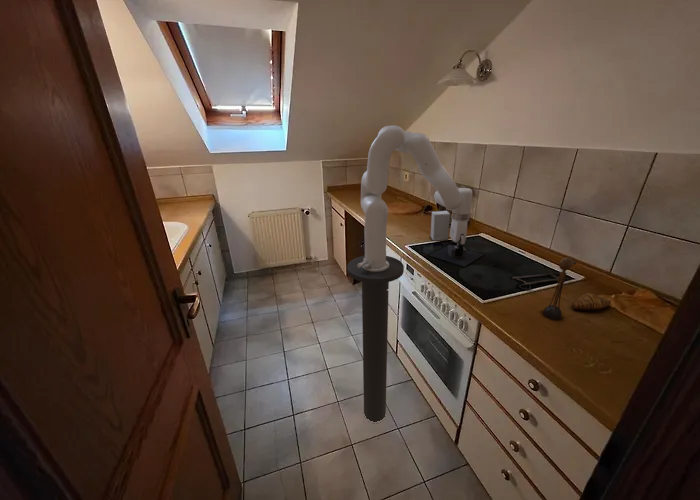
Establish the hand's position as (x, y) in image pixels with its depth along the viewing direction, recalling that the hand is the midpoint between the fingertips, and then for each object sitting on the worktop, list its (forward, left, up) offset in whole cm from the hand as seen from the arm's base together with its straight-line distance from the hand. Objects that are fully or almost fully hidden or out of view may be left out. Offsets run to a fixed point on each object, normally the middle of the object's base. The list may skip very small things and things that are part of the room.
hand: (456, 252), depth 139 cm
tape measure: (0, 0, -1) cm, 1 cm away
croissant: (-9, -53, -2) cm, 54 cm away
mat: (0, 0, -1) cm, 1 cm away
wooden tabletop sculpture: (-22, -46, -2) cm, 51 cm away
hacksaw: (0, -37, -2) cm, 37 cm away
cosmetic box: (+14, +18, -2) cm, 23 cm away
